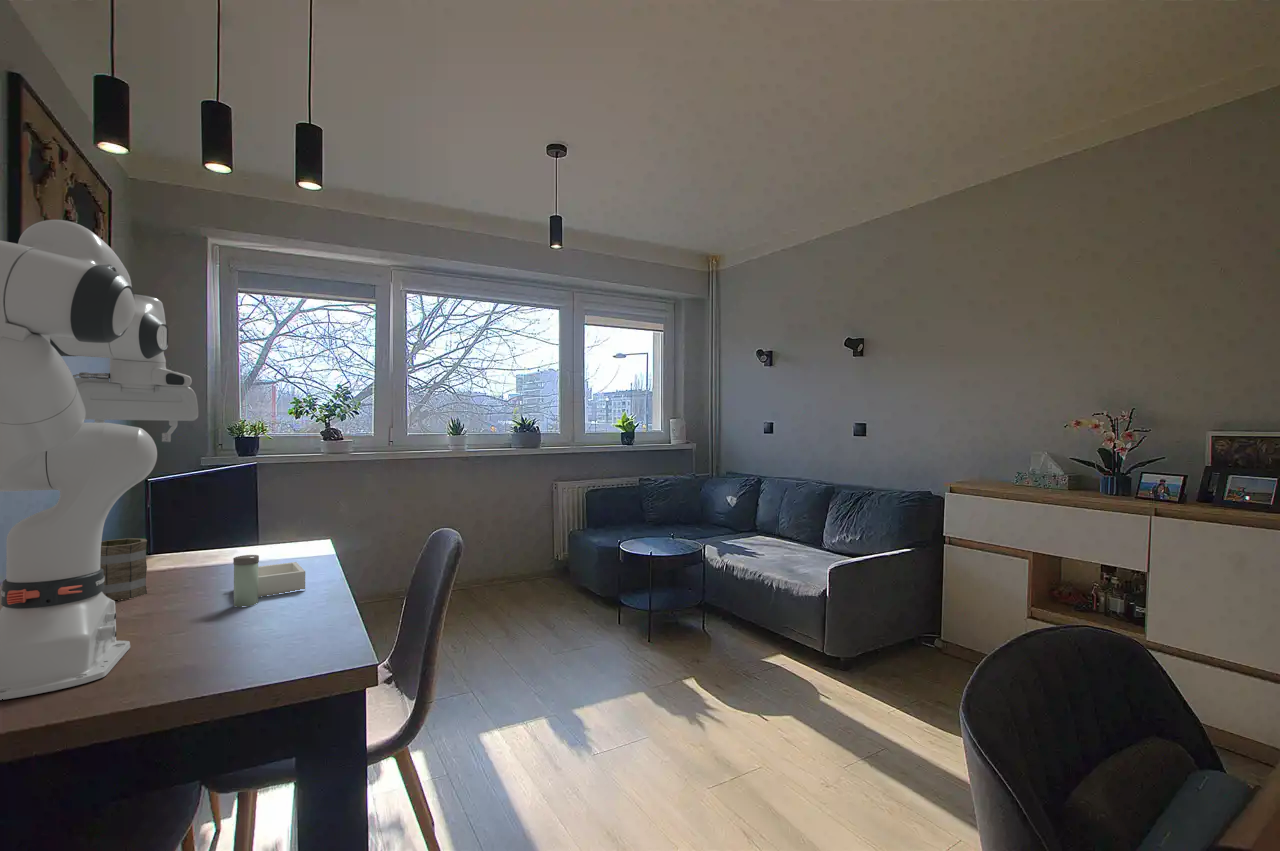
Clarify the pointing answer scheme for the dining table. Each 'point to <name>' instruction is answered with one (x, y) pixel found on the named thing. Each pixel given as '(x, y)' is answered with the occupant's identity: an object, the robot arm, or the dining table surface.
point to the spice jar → (245, 580)
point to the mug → (124, 567)
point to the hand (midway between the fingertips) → (137, 441)
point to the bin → (280, 578)
